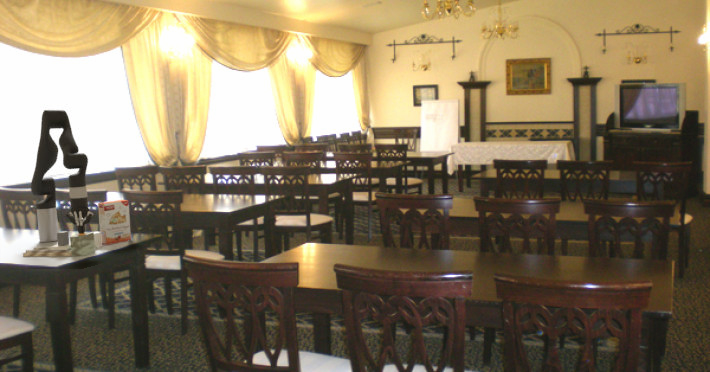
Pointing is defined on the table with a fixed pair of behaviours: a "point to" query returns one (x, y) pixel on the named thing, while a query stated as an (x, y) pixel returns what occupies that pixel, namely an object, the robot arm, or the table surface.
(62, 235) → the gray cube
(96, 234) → the white cube
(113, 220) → the cracker box
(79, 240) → the rail track
